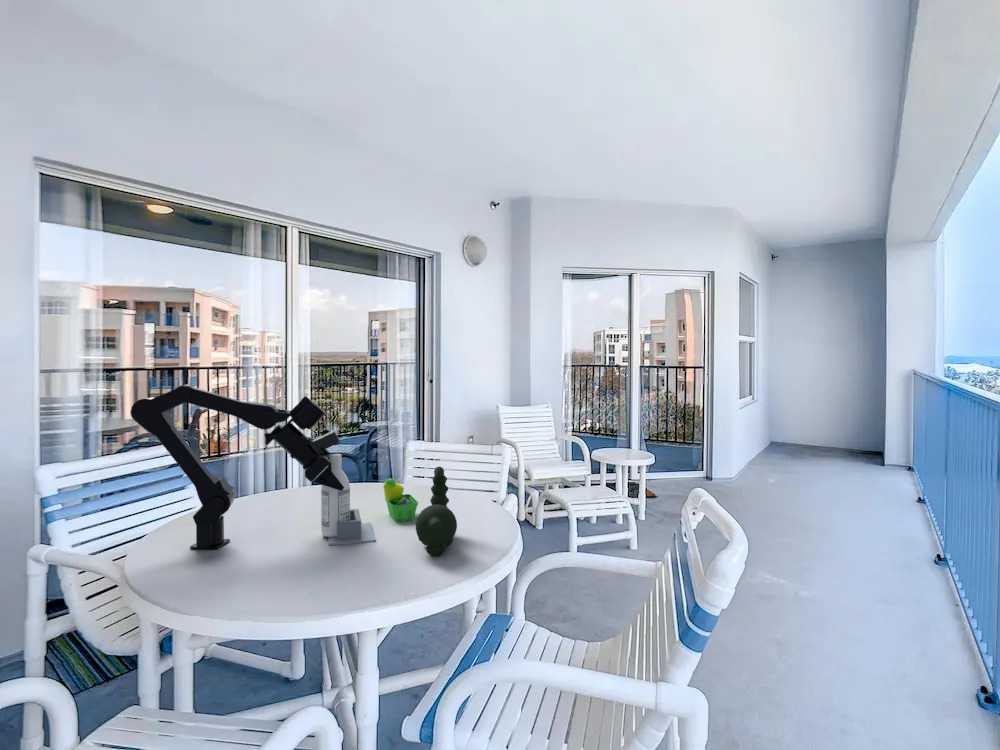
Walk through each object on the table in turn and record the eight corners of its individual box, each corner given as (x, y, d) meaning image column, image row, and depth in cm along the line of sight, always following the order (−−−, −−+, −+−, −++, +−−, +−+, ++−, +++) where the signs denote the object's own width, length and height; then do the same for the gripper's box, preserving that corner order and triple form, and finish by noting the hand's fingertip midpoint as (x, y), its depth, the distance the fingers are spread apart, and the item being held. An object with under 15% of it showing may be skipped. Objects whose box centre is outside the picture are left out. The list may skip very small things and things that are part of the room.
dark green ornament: (421, 538, 148) (412, 563, 123) (421, 464, 150) (413, 474, 125) (457, 538, 149) (456, 562, 124) (458, 464, 150) (456, 474, 125)
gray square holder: (328, 545, 137) (328, 525, 137) (328, 527, 153) (328, 509, 153) (375, 541, 140) (375, 521, 140) (370, 524, 156) (370, 506, 156)
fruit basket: (419, 520, 159) (419, 480, 159) (387, 524, 156) (387, 482, 156) (410, 511, 170) (410, 473, 170) (379, 513, 167) (379, 475, 166)
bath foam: (352, 529, 149) (351, 452, 149) (347, 537, 142) (347, 456, 142) (324, 530, 149) (324, 452, 148) (318, 538, 142) (318, 457, 141)
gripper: (319, 423, 135) (367, 468, 138) (320, 416, 153) (363, 456, 156) (284, 458, 133) (333, 503, 136) (288, 447, 151) (332, 486, 154)
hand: (342, 485), depth 146 cm, fingers open, 9 cm apart
